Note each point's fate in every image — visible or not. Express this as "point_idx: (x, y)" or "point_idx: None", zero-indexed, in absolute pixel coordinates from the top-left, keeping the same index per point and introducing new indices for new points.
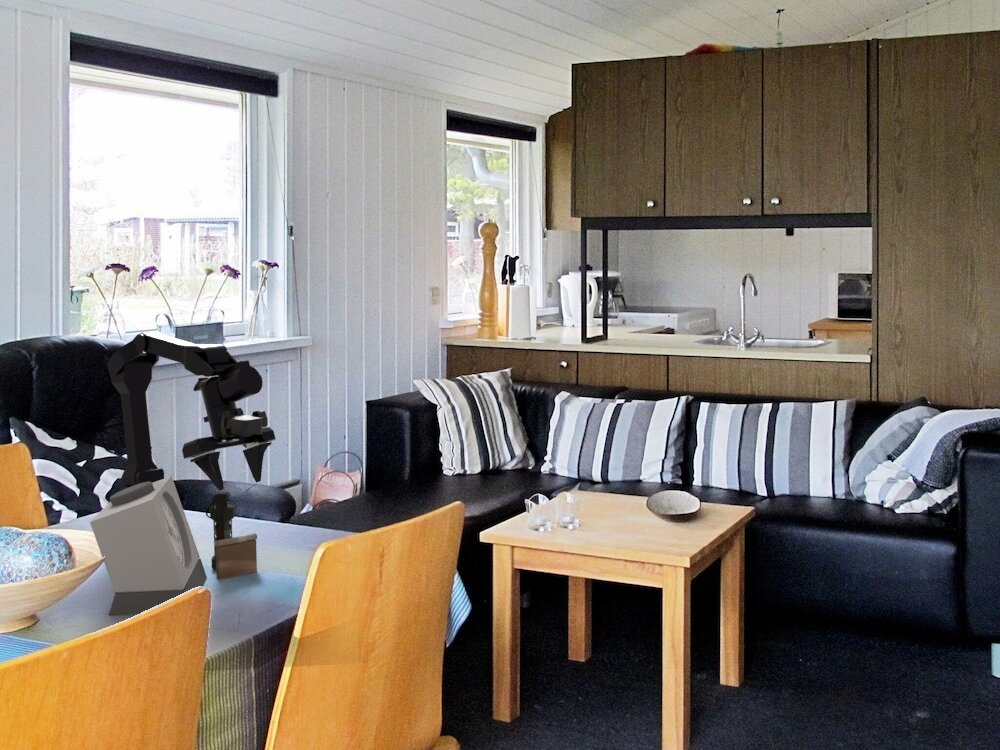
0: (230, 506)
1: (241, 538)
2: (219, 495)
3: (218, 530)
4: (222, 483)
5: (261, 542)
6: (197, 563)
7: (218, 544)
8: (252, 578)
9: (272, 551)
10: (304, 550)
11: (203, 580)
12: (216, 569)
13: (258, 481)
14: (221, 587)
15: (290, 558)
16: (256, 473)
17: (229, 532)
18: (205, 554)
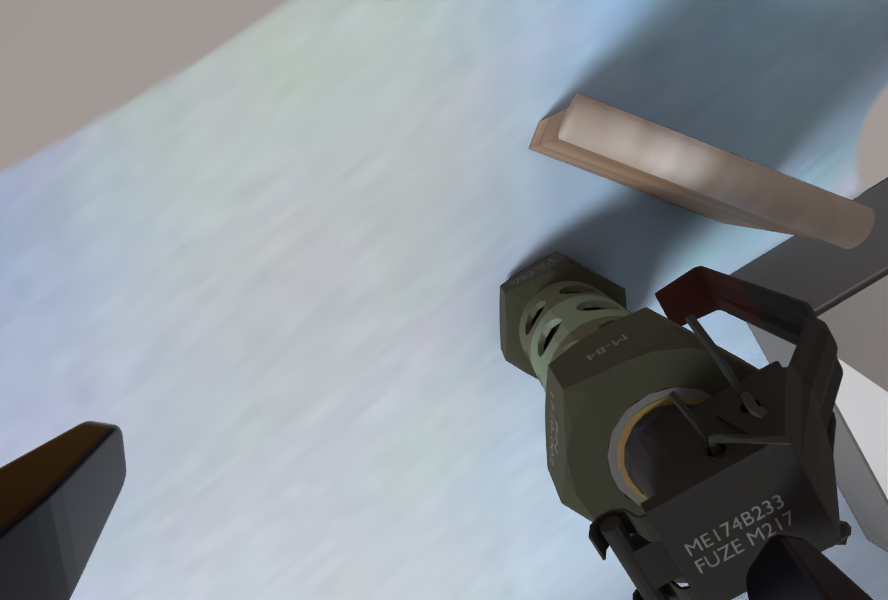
0: (641, 383)
1: (700, 141)
2: (823, 490)
3: (765, 312)
4: (834, 592)
5: None
6: (885, 270)
7: (861, 204)
8: (656, 58)
9: (189, 292)
10: (82, 145)
11: None
12: (748, 226)
13: (121, 437)
14: (844, 102)
15: (253, 114)
16: (42, 544)
17: (613, 312)
18: (391, 544)
